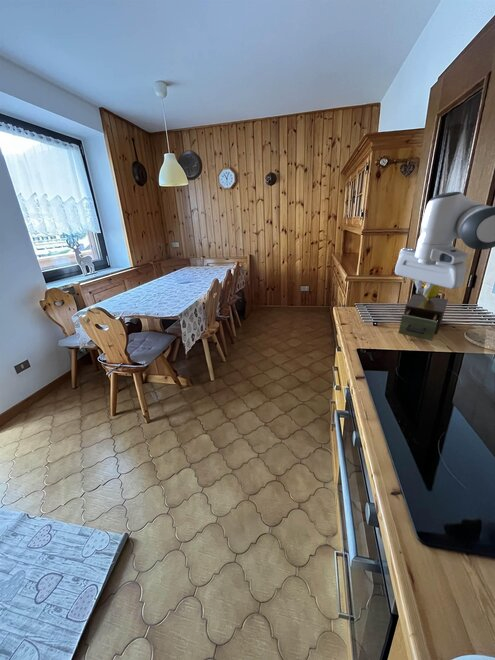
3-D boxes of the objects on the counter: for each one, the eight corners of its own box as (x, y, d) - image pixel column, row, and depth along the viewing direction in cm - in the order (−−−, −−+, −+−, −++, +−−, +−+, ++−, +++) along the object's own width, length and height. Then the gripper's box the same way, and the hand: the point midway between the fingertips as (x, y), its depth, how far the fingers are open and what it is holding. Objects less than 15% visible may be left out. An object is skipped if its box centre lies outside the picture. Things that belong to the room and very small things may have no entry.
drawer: (429, 346, 102) (435, 326, 99) (395, 337, 109) (399, 319, 105) (437, 326, 115) (442, 309, 111) (406, 320, 121) (409, 303, 118)
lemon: (432, 297, 120) (437, 278, 116) (439, 302, 115) (444, 283, 111) (418, 297, 120) (423, 279, 117) (424, 302, 115) (429, 283, 112)
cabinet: (436, 334, 111) (443, 312, 107) (401, 327, 118) (405, 305, 114) (442, 320, 121) (448, 299, 117) (408, 314, 128) (413, 294, 124)
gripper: (394, 247, 93) (387, 287, 99) (462, 259, 77) (448, 306, 83) (407, 245, 95) (399, 284, 102) (474, 255, 79) (460, 301, 86)
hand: (421, 294), depth 92 cm, fingers closed
